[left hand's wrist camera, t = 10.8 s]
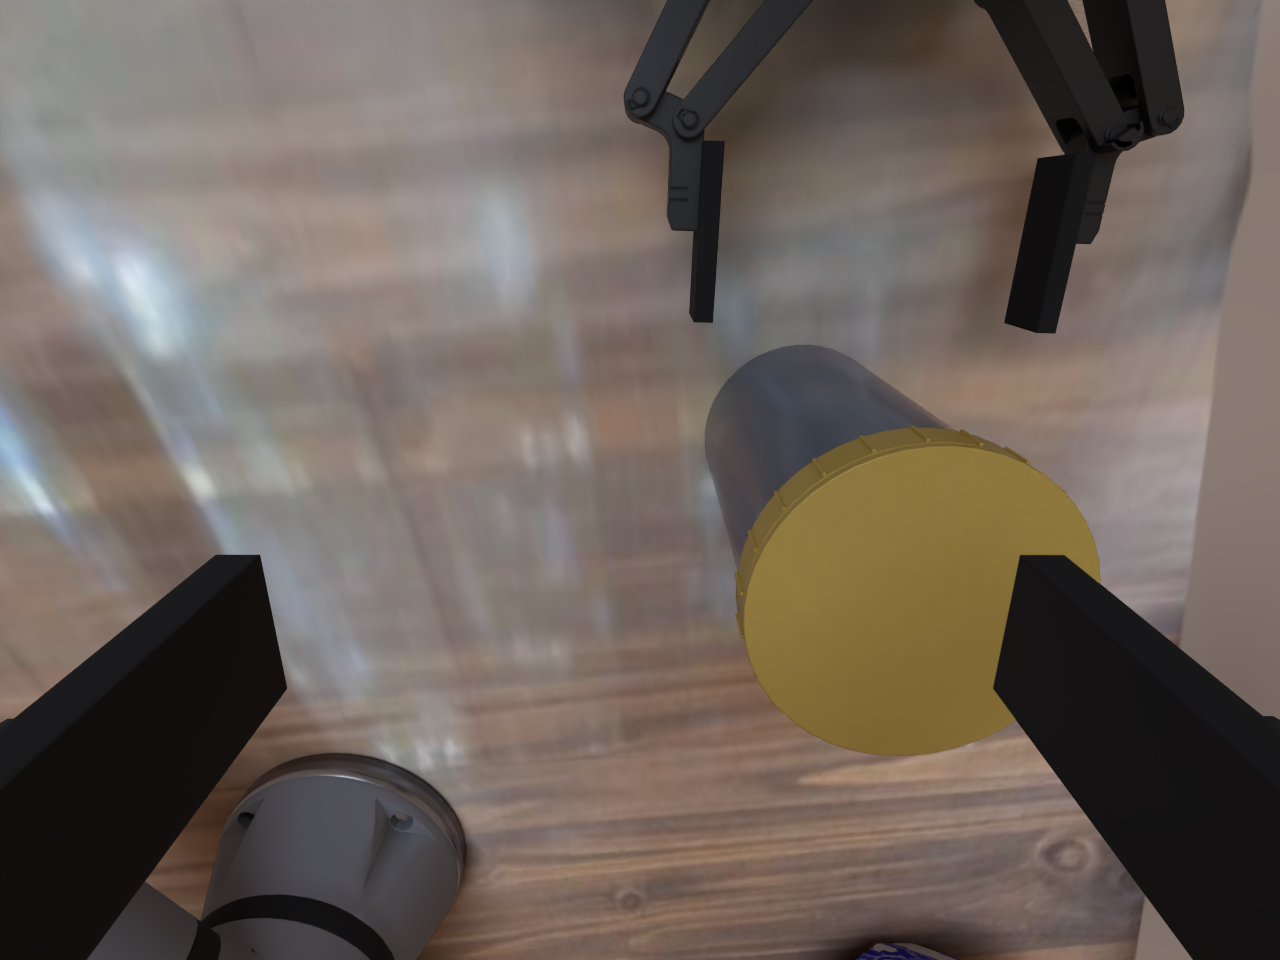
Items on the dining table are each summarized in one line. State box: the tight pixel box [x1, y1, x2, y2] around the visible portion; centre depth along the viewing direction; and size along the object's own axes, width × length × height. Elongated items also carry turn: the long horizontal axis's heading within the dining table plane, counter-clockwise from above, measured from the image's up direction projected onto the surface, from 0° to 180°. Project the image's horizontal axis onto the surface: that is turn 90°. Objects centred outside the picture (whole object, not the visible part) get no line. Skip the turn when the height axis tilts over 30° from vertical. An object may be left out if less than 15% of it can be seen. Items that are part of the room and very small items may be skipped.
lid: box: [735, 426, 1100, 756], centre depth 22 cm, size 11×11×2 cm
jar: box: [705, 345, 956, 570], centre depth 30 cm, size 10×10×18 cm
